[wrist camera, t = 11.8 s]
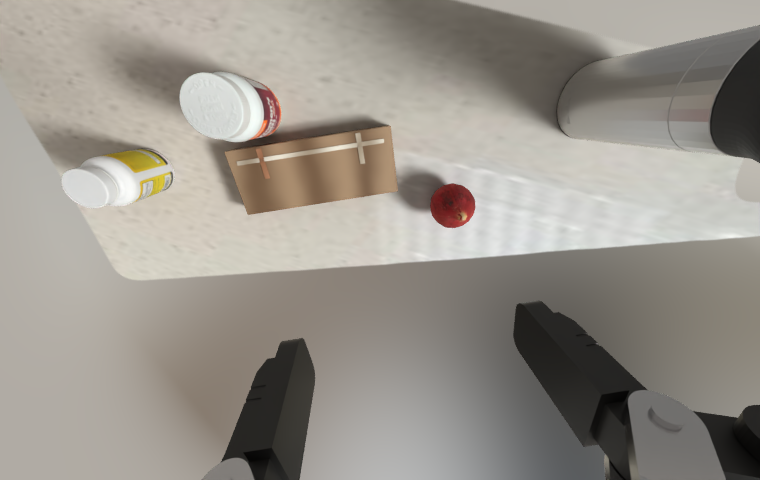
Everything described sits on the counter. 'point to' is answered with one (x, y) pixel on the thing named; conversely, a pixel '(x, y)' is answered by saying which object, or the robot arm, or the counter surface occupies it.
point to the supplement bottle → (118, 178)
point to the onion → (452, 205)
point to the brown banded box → (314, 169)
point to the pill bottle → (229, 106)
